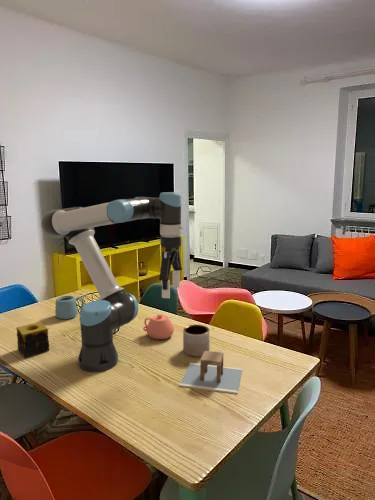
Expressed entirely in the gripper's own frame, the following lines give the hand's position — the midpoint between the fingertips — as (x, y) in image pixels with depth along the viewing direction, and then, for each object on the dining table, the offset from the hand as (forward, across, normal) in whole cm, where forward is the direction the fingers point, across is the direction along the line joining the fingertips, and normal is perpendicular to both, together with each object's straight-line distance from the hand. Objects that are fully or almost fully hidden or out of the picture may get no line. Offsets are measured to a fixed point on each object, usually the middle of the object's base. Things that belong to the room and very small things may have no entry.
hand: (171, 292), depth 140 cm
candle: (+29, -3, +59) cm, 66 cm away
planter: (+29, +12, -7) cm, 32 cm away
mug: (+29, +36, +65) cm, 80 cm away
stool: (+28, -7, -17) cm, 34 cm away
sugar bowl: (+29, +23, +13) cm, 39 cm away
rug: (+28, -7, -17) cm, 34 cm away
